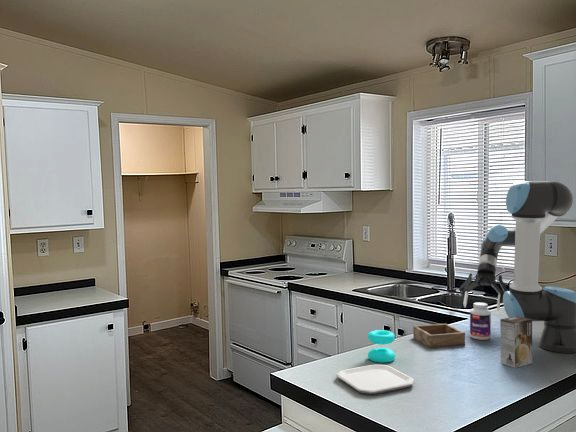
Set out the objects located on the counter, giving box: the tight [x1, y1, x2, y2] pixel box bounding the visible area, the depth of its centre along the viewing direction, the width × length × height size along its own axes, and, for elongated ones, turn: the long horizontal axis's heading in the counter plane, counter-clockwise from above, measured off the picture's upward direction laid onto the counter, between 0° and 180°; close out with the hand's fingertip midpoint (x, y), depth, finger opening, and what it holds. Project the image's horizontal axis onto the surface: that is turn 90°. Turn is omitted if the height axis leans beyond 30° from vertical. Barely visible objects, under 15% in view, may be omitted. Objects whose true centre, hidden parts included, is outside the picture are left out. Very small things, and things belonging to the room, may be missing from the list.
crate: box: [412, 323, 466, 349], centre depth 214 cm, size 15×15×5 cm
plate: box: [335, 363, 415, 395], centre depth 170 cm, size 21×21×2 cm
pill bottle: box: [469, 301, 492, 341], centre depth 218 cm, size 8×8×14 cm
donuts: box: [367, 329, 396, 364], centre depth 193 cm, size 10×10×10 cm
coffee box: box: [500, 316, 533, 369], centre depth 185 cm, size 9×6×16 cm
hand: (480, 307), depth 223 cm, fingers open, 13 cm apart
